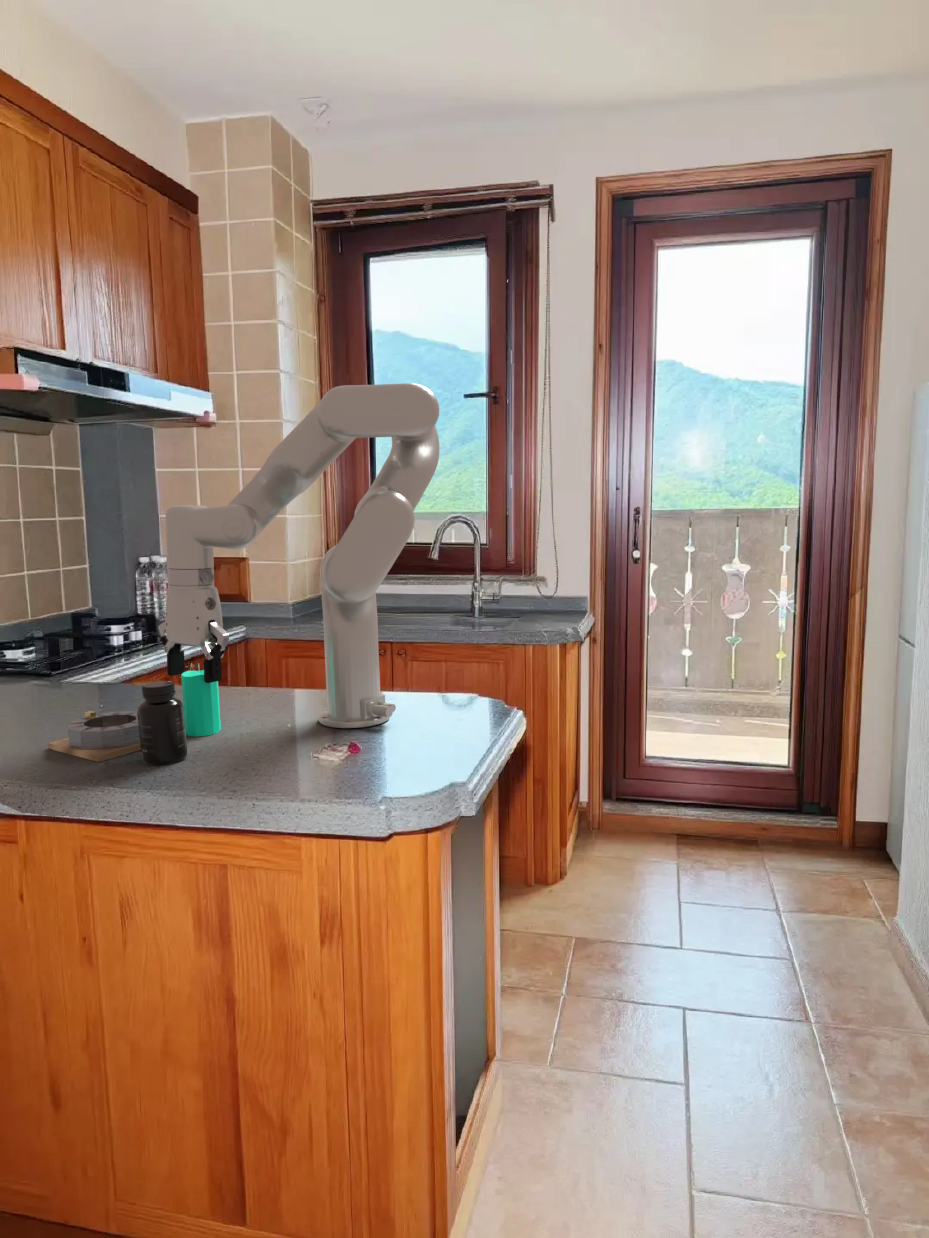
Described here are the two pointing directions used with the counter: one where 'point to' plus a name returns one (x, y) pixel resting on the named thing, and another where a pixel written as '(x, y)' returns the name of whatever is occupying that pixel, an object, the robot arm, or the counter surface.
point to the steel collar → (104, 730)
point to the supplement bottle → (161, 724)
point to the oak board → (92, 754)
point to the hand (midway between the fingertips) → (194, 678)
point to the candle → (200, 704)
